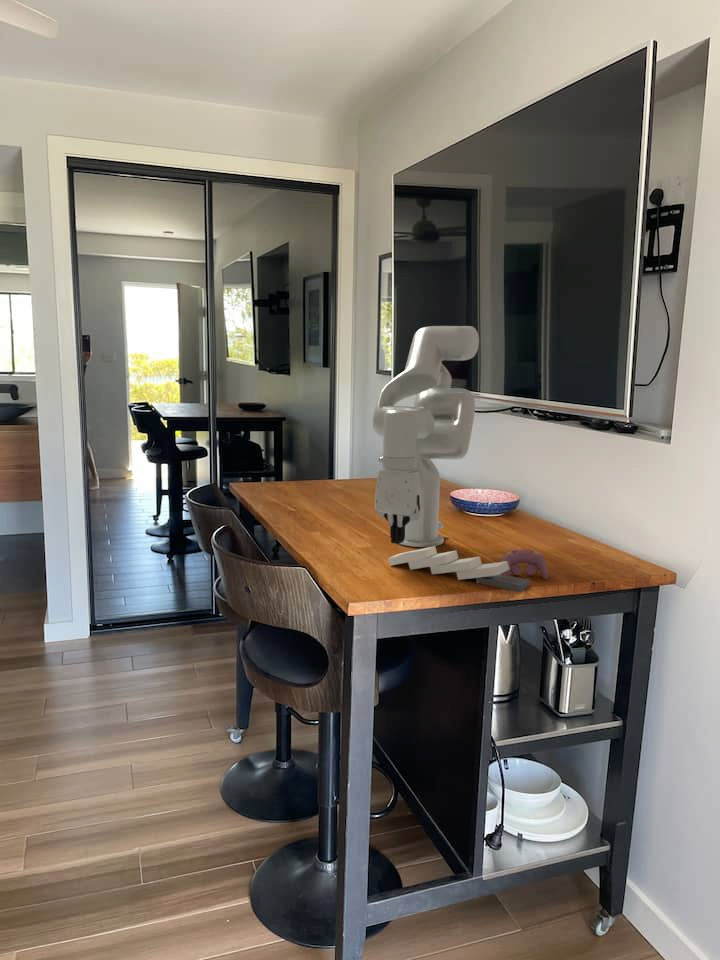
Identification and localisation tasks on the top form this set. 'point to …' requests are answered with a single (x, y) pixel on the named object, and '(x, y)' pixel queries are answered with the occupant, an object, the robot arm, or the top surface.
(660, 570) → the top surface
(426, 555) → the domino
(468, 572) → the domino
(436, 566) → the domino
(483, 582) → the domino
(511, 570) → the video game controller
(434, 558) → the domino
